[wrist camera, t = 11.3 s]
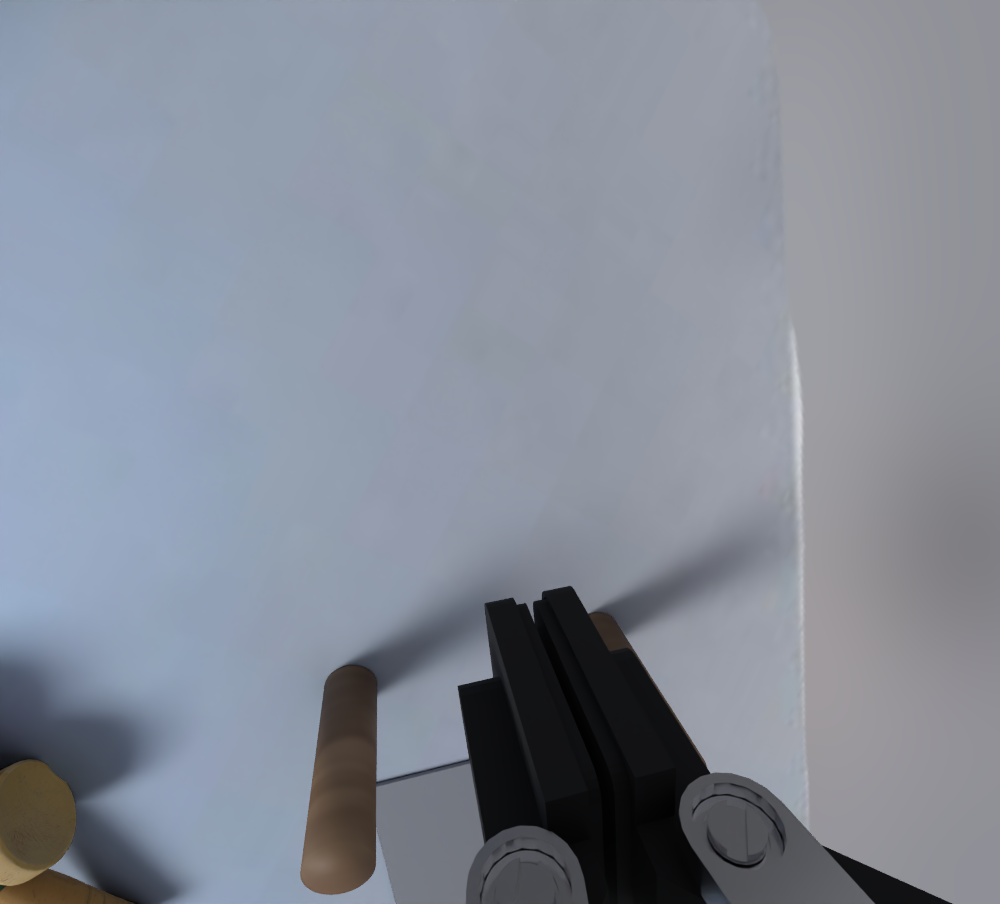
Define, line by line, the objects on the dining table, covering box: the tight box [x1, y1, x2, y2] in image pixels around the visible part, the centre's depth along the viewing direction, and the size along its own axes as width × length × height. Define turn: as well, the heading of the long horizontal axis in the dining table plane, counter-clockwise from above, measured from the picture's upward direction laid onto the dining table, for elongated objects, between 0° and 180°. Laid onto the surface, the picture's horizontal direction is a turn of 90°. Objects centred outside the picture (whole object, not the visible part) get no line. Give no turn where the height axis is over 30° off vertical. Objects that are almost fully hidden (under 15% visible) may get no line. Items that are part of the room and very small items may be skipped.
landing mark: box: [376, 760, 484, 904], centre depth 34 cm, size 14×14×1 cm
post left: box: [300, 665, 377, 895], centre depth 24 cm, size 3×3×9 cm
